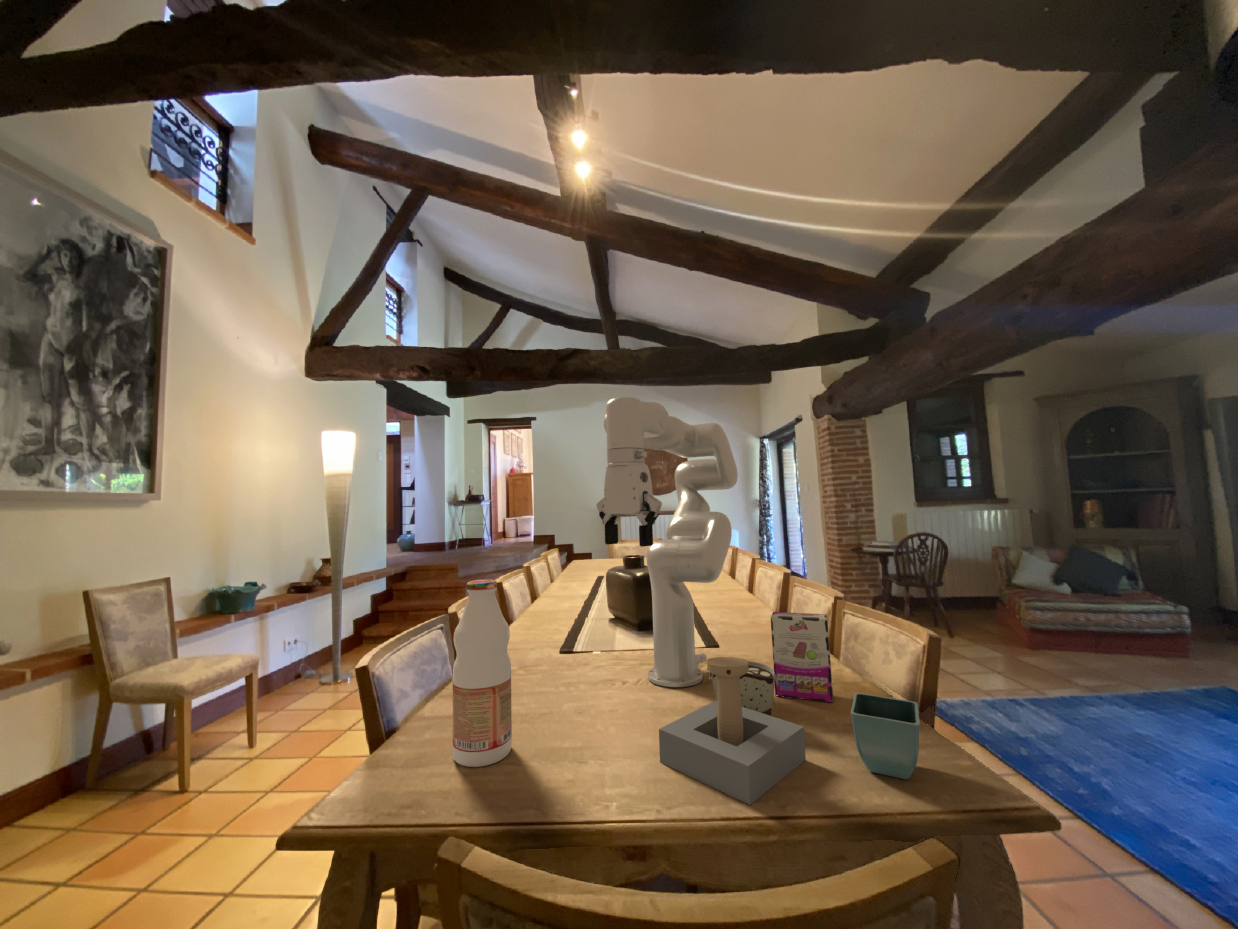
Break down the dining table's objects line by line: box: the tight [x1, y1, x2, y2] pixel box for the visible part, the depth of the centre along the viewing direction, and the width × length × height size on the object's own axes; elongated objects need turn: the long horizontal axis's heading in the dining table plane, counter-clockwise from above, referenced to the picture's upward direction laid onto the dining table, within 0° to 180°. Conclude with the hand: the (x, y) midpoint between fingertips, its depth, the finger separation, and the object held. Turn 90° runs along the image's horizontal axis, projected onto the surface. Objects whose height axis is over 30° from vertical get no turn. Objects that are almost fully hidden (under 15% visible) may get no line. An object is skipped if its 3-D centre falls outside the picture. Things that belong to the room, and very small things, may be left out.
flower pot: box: [850, 692, 921, 780], centre depth 74 cm, size 9×9×9 cm
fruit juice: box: [452, 578, 513, 768], centre depth 82 cm, size 9×9×28 cm
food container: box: [708, 660, 778, 717], centre depth 91 cm, size 12×6×10 cm, turn 65°
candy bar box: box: [770, 611, 834, 703], centre depth 102 cm, size 11×5×16 cm, turn 68°
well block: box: [658, 700, 807, 806], centre depth 77 cm, size 16×16×5 cm
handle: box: [706, 656, 749, 746], centre depth 78 cm, size 5×6×15 cm
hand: (628, 544), depth 98 cm, fingers open, 9 cm apart
